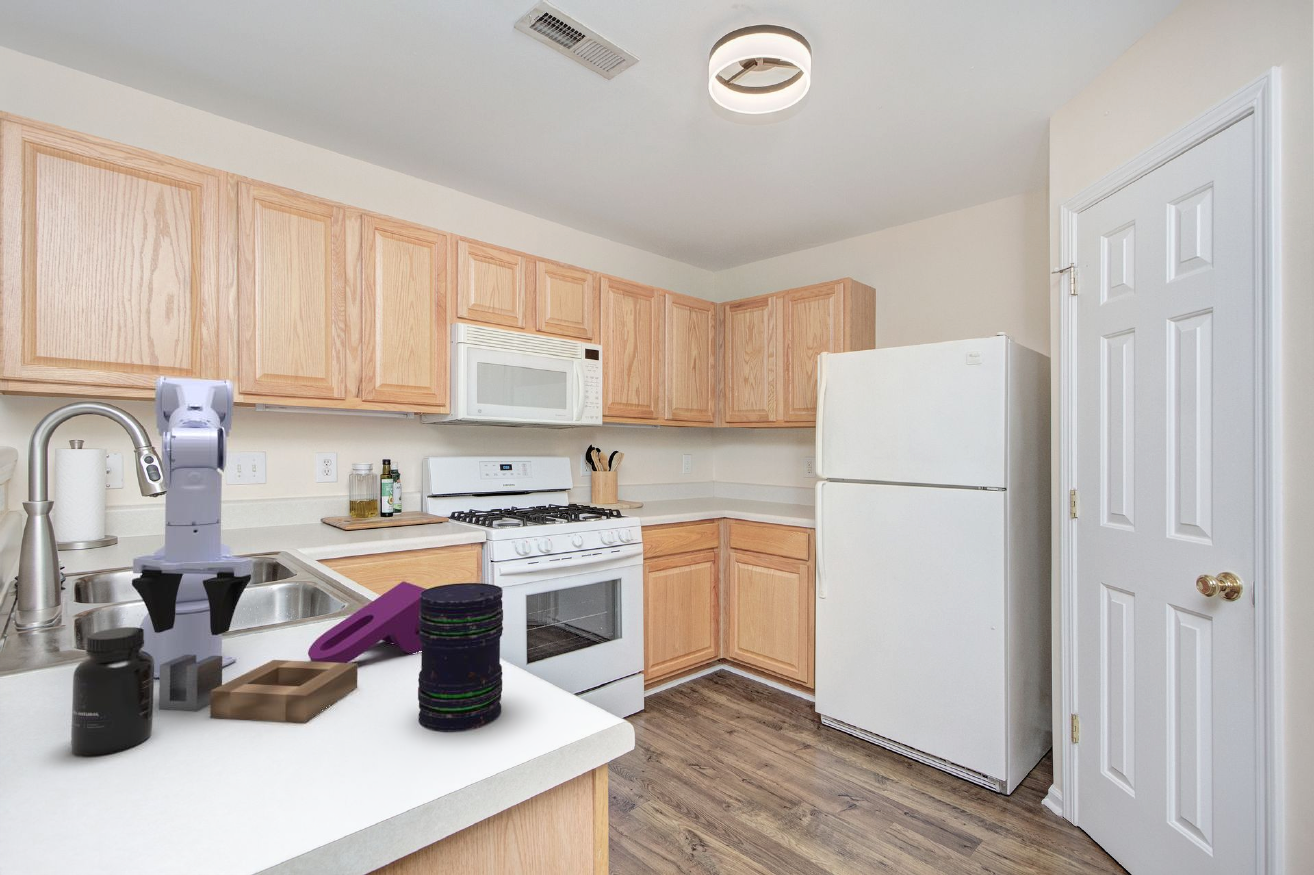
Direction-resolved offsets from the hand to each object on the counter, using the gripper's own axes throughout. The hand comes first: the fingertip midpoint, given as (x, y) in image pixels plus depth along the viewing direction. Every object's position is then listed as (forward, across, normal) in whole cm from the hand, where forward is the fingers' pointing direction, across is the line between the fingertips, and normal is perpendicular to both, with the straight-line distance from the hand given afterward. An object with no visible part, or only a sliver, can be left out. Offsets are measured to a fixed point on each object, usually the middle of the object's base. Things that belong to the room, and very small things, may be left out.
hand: (192, 631), depth 81 cm
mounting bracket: (+10, +12, +21) cm, 26 cm away
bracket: (+9, 0, 0) cm, 9 cm away
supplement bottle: (+9, 0, -10) cm, 14 cm away
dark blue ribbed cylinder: (+9, +34, +1) cm, 36 cm away
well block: (+9, +12, +2) cm, 15 cm away
